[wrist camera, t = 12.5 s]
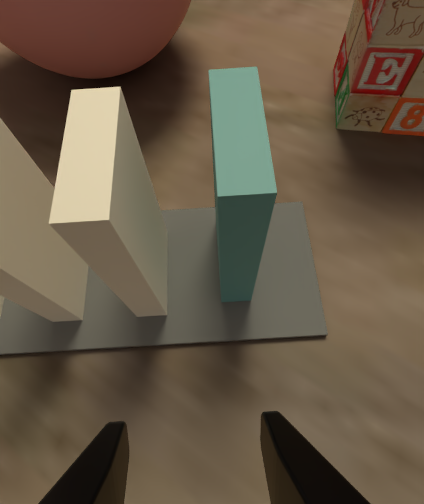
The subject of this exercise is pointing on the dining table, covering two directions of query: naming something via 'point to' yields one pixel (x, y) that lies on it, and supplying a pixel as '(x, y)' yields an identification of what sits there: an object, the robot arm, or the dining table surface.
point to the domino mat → (190, 295)
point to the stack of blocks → (382, 68)
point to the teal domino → (240, 178)
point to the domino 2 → (111, 201)
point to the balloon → (89, 33)
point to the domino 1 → (35, 241)
